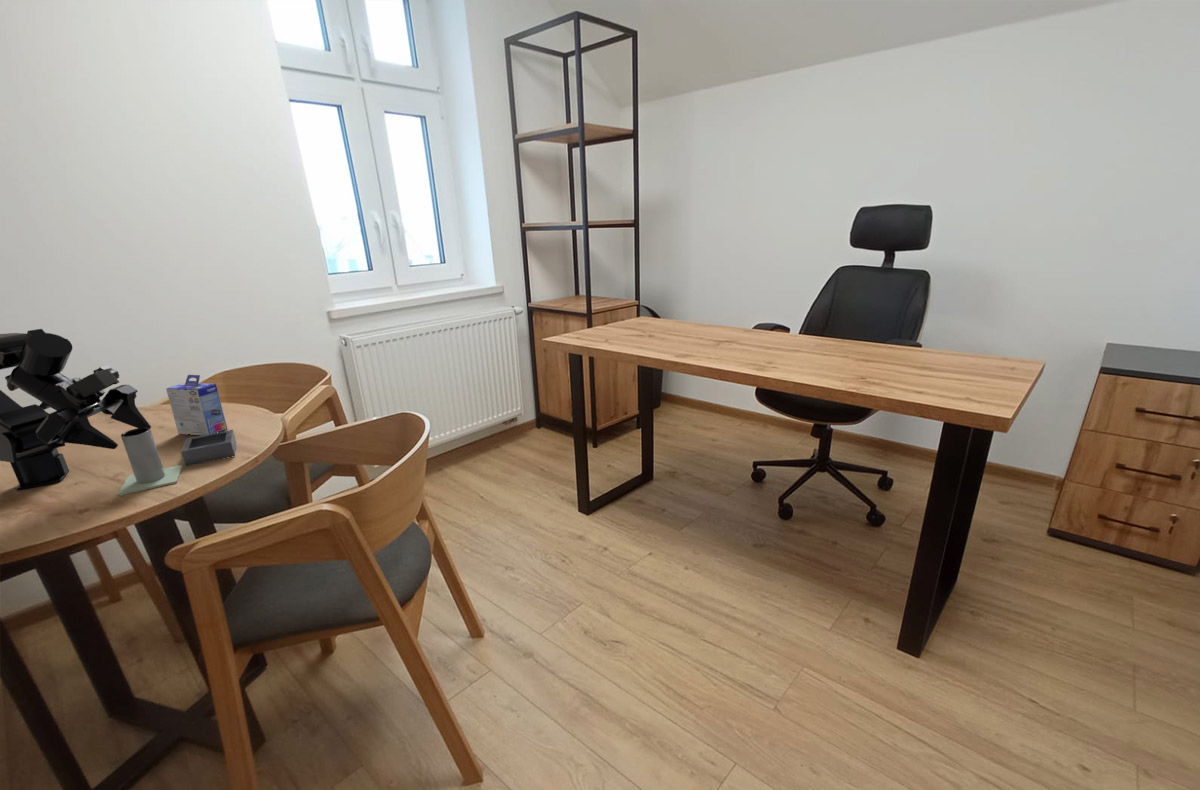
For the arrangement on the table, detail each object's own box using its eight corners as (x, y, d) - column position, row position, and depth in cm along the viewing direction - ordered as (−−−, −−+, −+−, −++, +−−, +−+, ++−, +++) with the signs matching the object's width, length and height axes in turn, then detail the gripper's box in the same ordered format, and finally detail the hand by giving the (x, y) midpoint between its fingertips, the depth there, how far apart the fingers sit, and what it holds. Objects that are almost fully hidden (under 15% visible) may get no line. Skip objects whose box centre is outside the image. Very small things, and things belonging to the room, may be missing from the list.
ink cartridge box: (229, 428, 134) (214, 374, 129) (210, 436, 129) (194, 380, 124) (197, 426, 136) (182, 373, 131) (177, 434, 131) (160, 379, 126)
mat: (119, 495, 101) (118, 493, 101) (128, 477, 108) (128, 476, 108) (177, 482, 105) (176, 481, 105) (182, 466, 113) (182, 464, 112)
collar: (185, 466, 113) (181, 451, 111) (190, 452, 120) (186, 438, 119) (234, 456, 117) (230, 442, 116) (236, 443, 124) (232, 429, 123)
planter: (166, 471, 110) (151, 425, 106) (164, 479, 106) (149, 432, 103) (138, 477, 107) (122, 431, 104) (135, 485, 104) (119, 438, 100)
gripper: (30, 370, 89) (121, 426, 94) (113, 346, 107) (186, 394, 111) (-4, 417, 91) (87, 469, 96) (83, 385, 108) (156, 431, 113)
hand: (133, 437), depth 104 cm, fingers open, 9 cm apart
